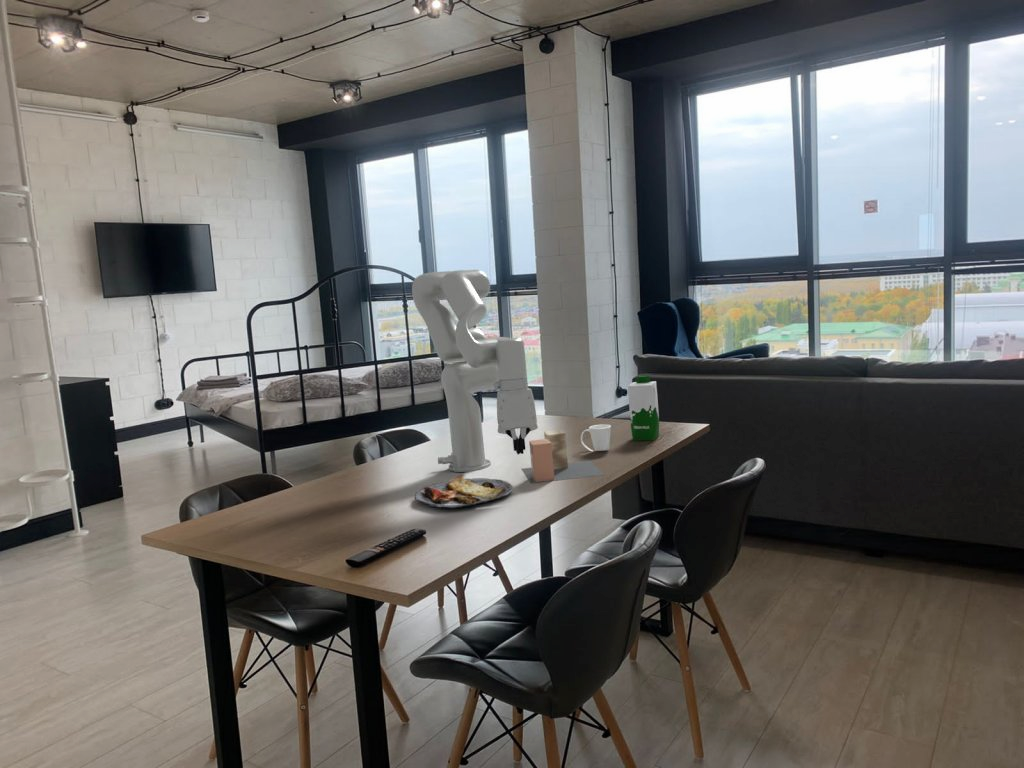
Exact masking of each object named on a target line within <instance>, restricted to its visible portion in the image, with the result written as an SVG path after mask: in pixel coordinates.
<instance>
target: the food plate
mask: <svg viewBox="0 0 1024 768" xmlns="http://www.w3.org/2000/svg"><path fill="white" fill-rule="evenodd" d="M513 490H514V486H513V485H512V483H510V482H509V481H506V480H502V479H495V478H486V477H485V478H484V477H483V478H481V477H479V478H478V477H474V478H465V477H464V476H463V475H458V476H456V477H455V478H453V479H452V480H447V481H442V482H439V483H433V484H430V485H427V486H425V487H422V488H421V489H419V490H418V491H416V492H415V494H414V500H417V501H420V502H421V503H424V504H427V505H429V506H430V508H432V507H433V508H435V507H437V508H453V509H454V508H465V507H471V506H472V507H473V506H475V505H478V504H481V503H486V502H487V503H488V502H489V501H492V500H495V499H496V500H497V499H498V498H501V497H505V496H508V495H509V494H510V493H511V492H512V491H513ZM480 498H482V499H487V500H482V499H480Z"/></svg>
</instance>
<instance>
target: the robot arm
mask: <svg viewBox="0 0 1024 768" xmlns="http://www.w3.org/2000/svg"><path fill="white" fill-rule="evenodd" d="M490 291H491V281H490V279H489V278H488V275H487V274H486V273H485V272H484V271H482V270H479V269H468V270H467V269H466V270H464V269H463V270H462V269H461V270H448V271H433V272H426V273H422V274H420V275H418V276H416V277H415V278H414V279H413V282H412V286H411V294H412V295H411V296H412V298H413V299H412V300H413V303H414V305H415V308H416V309H417V312H418V313H419V315H420V316H421V318H422V319H423V321H424V323H425V325H426V328H427V331H428V333H429V336H430V340H431V342H432V344H433V347H434V350H435V352H436V354H437V357H438V358H439V360H441V361H442V362H445V363H450V362H453V363H450V364H448V365H446V366H445V367H444V368H443V370H442V371H441V374H440V375H441V376H440V378H441V385H442V388H443V391H444V395H445V399H446V406H447V415H448V423H449V424H448V425H449V432H450V443H451V452H450V454H449V455H447V456H440V457H437V464H438V465H440V464H442V465H447V464H449V465H448V470H449V471H450V472H455V473H465V472H467V473H468V472H474V471H480V470H484V469H486V468H488V467H490V466H492V465H491V463H492V461H491V460H490V459H487V458H486V454H485V444H484V433H483V422H482V414H481V408H480V405H479V403H478V401H477V400H476V399H475V397H474V396H473V395H472V394H474V393H478V392H484V391H490V390H493V389H496V388H497V389H499V390H498V391H497V395H496V416H497V418H496V419H497V433H498V434H502V435H507V436H508V437H510V438H511V439H512V445H513V446H512V447H513V451H514V452H516V455H520V454H521V455H522V454H524V451H526V441H525V439H526V437H527V435H529V433H530V432H534V431H535V430H538V428H539V427H538V421H537V420H538V419H537V418H538V417H537V409H536V405H535V399H534V394H533V390H532V388H529V383H528V373H527V362H526V361H527V360H526V350H525V344H524V343H525V342H524V340H523V339H522V338H520V337H507V336H499V337H490V338H487V337H486V334H485V333H484V332H483V331H482V330H481V329H479V328H477V327H475V326H476V325H478V324H479V323H480V322H481V321H483V319H484V318H485V317H486V314H487V307H486V305H485V304H484V301H483V299H484V298H486V297H487V296H488V295H489V293H490ZM445 300H446V301H447V302H448V305H449V306H450V308H451V309H452V311H453V313H454V315H455V316H456V318H457V320H458V321H457V323H456V320H455V317H454V316H453V314H452V312H451V311H450V310H449V309H448V308H447V307H446V306H444V305H443V304H442V303H440V301H445ZM516 429H519V435H517V433H516Z"/></svg>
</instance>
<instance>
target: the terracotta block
mask: <svg viewBox="0 0 1024 768" xmlns="http://www.w3.org/2000/svg"><path fill="white" fill-rule="evenodd" d="M528 444H529V453H530V455H529V456H530V463H531V465H530V468H531V467H532V477H533V478H534V480H535V481H536V482H541V481H549V480H554V469H553V457H552V445H551V442H550V441H549V440H548V439H545V438H543V439H536V440H534V439H533V440H529V443H528Z"/></svg>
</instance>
